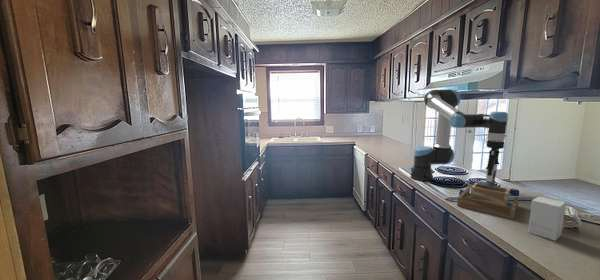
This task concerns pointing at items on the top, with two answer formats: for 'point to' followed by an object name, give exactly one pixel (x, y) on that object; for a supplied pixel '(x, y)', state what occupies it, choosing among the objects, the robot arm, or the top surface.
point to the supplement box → (547, 217)
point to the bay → (487, 205)
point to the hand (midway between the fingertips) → (491, 178)
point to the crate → (490, 192)
